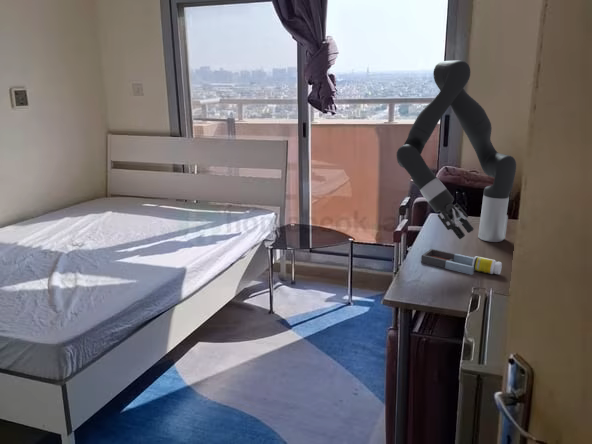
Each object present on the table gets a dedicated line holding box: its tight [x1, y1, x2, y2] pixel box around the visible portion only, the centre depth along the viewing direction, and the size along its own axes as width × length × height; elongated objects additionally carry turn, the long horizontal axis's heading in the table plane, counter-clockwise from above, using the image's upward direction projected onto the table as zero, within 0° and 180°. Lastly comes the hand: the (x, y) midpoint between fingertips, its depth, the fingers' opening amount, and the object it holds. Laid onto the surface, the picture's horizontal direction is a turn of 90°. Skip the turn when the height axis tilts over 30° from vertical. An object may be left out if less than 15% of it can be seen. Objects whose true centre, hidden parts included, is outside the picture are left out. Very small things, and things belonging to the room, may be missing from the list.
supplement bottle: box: [471, 255, 503, 275], centre depth 167 cm, size 5×5×8 cm
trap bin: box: [420, 248, 455, 269], centre depth 176 cm, size 9×9×2 cm
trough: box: [444, 253, 475, 276], centre depth 171 cm, size 9×9×2 cm
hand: (467, 234), depth 168 cm, fingers open, 8 cm apart
